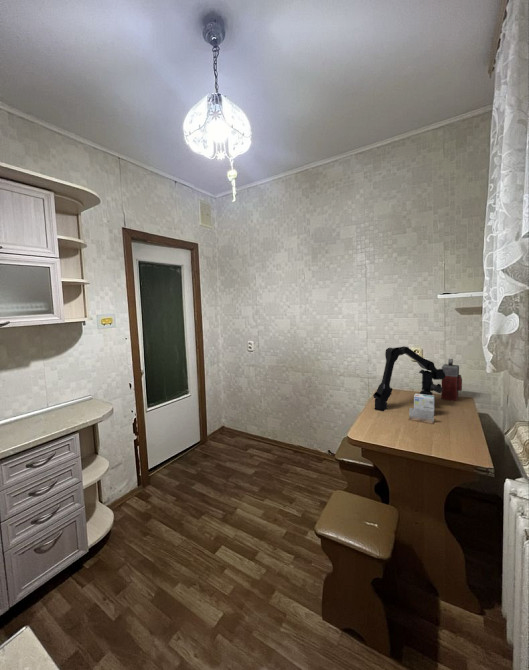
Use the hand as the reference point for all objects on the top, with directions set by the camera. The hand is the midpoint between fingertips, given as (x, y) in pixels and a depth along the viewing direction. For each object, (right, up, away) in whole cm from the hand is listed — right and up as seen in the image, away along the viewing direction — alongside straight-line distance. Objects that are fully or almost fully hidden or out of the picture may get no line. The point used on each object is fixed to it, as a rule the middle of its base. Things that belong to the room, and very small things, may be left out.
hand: (426, 403), depth 183 cm
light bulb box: (-9, -3, -13) cm, 16 cm away
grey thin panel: (-17, -4, -24) cm, 29 cm away
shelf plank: (-18, -4, -25) cm, 31 cm away
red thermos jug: (+23, 0, +11) cm, 26 cm away
